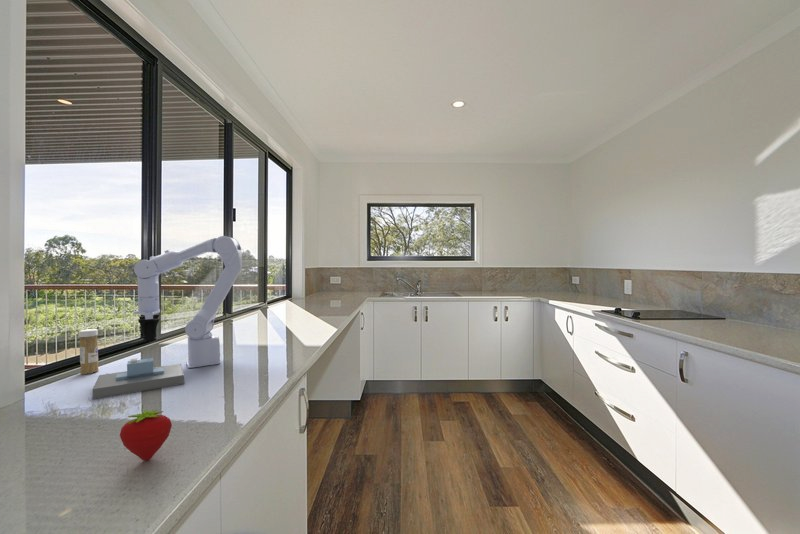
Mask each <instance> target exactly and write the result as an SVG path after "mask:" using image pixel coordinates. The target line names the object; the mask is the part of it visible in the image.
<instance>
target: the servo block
mask: <svg viewBox="0 0 800 534" xmlns="http://www.w3.org/2000/svg"><path fill="white" fill-rule="evenodd" d="M154 367H155V366H154V358H153V357H151V358H144V359H143V358H142V359H138V358H136V357H135V358H130V360H128V361H127V363H126V371H127V373H121V374H117V376H116V381H117V380H124V379H125V380H129V379H135V378H142V377H148V376H154V375H157V374H164V367H163V368H156V369H154Z"/></svg>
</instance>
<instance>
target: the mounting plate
mask: <svg viewBox="0 0 800 534" xmlns="http://www.w3.org/2000/svg"><path fill="white" fill-rule="evenodd" d="M163 367H164V374H157V375H154V376H148V377H142V378H135V379H129V380H125V379H124V380H117V381H116V376H117V374H121V373H127V370H125V371H121V372H111V373H105V374H99V375H98V377H97V379H96V381H95V383H94V385H93V388H92V399H93V398H96V399H100V398H99V397H102V398H107V397H106V396H108V397H113V396H112V395H114V396H119V395H118V394H120V395H125V394H132V393H137V392H143V391H150V390H155V389H162V388H168V387H172V386H173V387H174V386H178V385H179V386H181V385H184V384H185V374H184V371H183V366H182V363H175V364H169V365H163V366H154V369H156V368H163Z"/></svg>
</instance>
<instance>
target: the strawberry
mask: <svg viewBox="0 0 800 534" xmlns="http://www.w3.org/2000/svg"><path fill="white" fill-rule="evenodd" d="M143 408H144V404H142V406H141V413H137V414H132V415H128V416H127V418H132V419H131V420H128V421H127V422H126V423H125V424H124V425H123V426H122V427H121V428H120V434H119V437H120V440H121V443H122V444H123V447H125V448H126V449H127V450H129V451H130V453H132V454H134V455H135V456H136V457H138V458H139V459H140V460H142V461H144V462H145V461H149V460H151V459H152V458H153V457H154V455H155V454H156V453H157V452H158V450H160V449H161V447H162V446H163V444H164V443H165V442H166V440H167V439H168V437H169V436H170V433H171V429H172V427H173V424H172V422H171V419H170V418H169V417H167V416H166V415H164V414H161V413H164V410H162V411H158V409H155V410H151V411H148V410H147V409H146V410H144V411H143Z"/></svg>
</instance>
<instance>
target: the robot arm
mask: <svg viewBox="0 0 800 534" xmlns="http://www.w3.org/2000/svg"><path fill="white" fill-rule="evenodd" d="M242 251H243V248H242V247H241V244H240V242H239V241H238V240H237V239H236V238H234V237H231V236H230V237H229V236H227V235H221V236H218V237H217V238H216V237H215V238H214V237H213V238H210V239H207V240H204V241H202V242H200V243H198V244H195V245H192V246H189V247H188V248H184V249H183V250H181V251H178V250H174V249H173V250H171V249H166V250H165V251H164V253H161V254H158V255H156V256H154V255H152V256H150V257H149V260H148V259H141V260H139V261H138V262H136V263H135V264H134V266H133V267H134V268H133V272H134V273H135V276H137V310H134V311H133V314H134V315H139V316H138V319H137V322H138V323H139V324H140V326H141V329H142V332H143V336H144V340H145V342H151V341H152V342H153V341H154V340H155V335H156V332H157V331H156V330H157V326H158V323H159V322H160V320H161V318H159V317H160V314H159V313H161V309H160V283H159V281H160V280H159V276H160V275H161V274H164V273H167V272H168V271H171V270H175V269H177V268H180V267H181V266H182V265H183V264H184V262H185V261H187V260H189V259H192V258H195V257H198V256H201V255H205V254H206V253H207V254H208V253H215V254H217V255H218V256H219V257H220V258H221V260H222V262H223V264H224V268H223V270H222V272H221V273H220V275H219V277H218V278H217V280H216V282H215V284H214V286H213V288H212V289H211V291H210V293H209V295H208V296H207V298H206V299H205V302H204V303H203V304H202V306H201V308H200V309H199V311H197V313H196V314H195V315H194V317H193V318H192V319H191V320H190V321H189V322H188V323H186V325H185V329H184V331H185V334H186V336H187V360H188V361H186V367H187V369H192V368H193V369H194V368H199V367H200V368H201V367H206V366H212V365H218V364H219V365H220V364H221V349H220V348H221V345H220V338H219V336H218V335H213V333H212V332H211V331H212V330H213V328H214V323H215V319H216V318H217V313H218V311H219V309H220V308H221V306H222V304H223V302H224V300H225V299H226V297H227V295H228V294H229V292H230V290H231V288H232V286H233V285H234V283H235V281H236V279H237V278H238V277H239V274H240V273H241V271H242V269H243V256H242V255H243V254H242Z"/></svg>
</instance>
